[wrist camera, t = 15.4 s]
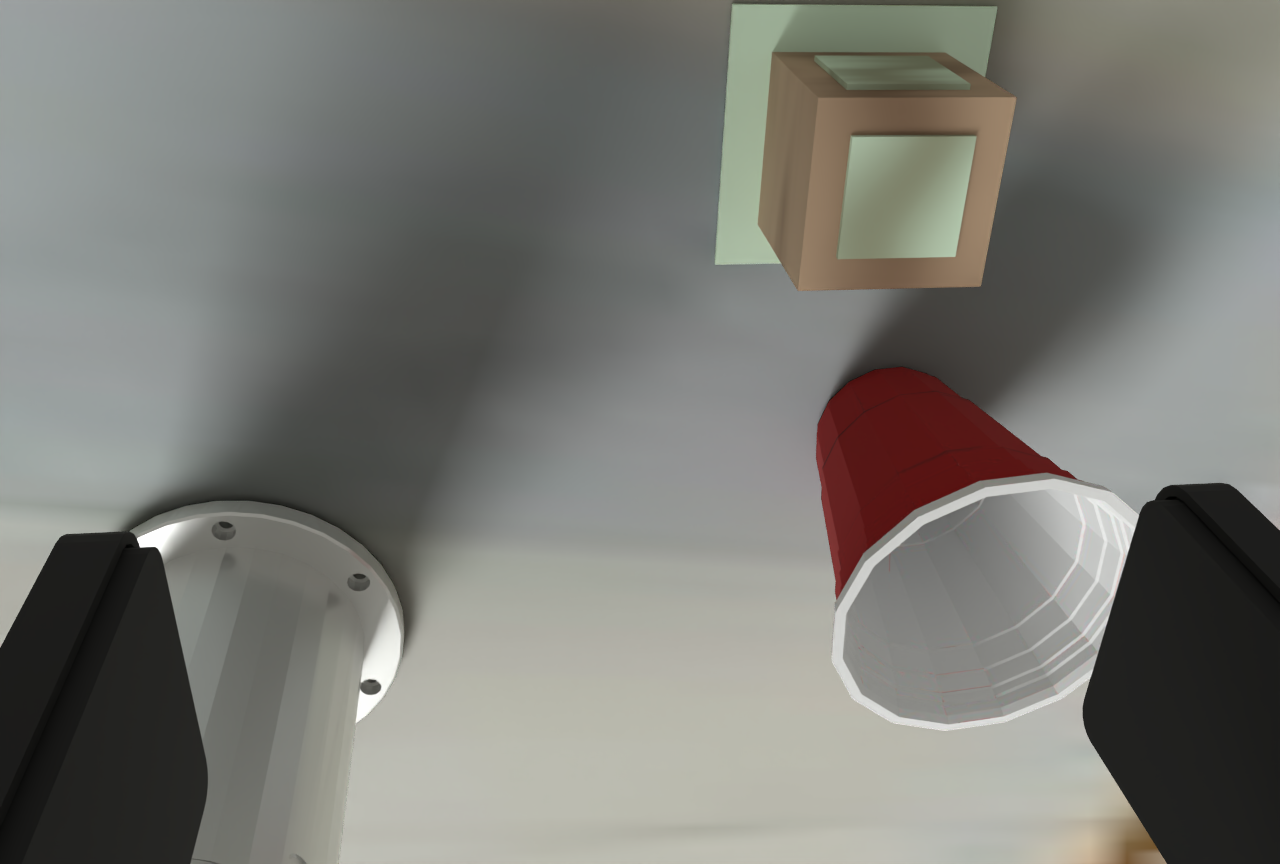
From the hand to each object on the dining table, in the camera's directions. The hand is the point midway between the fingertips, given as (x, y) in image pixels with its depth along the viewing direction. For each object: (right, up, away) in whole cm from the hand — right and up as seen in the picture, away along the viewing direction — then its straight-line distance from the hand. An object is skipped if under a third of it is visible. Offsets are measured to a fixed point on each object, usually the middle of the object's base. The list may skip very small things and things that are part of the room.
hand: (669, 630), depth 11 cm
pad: (+7, +12, +29) cm, 32 cm away
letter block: (+7, +12, +29) cm, 32 cm away
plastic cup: (+10, +2, +36) cm, 37 cm away
